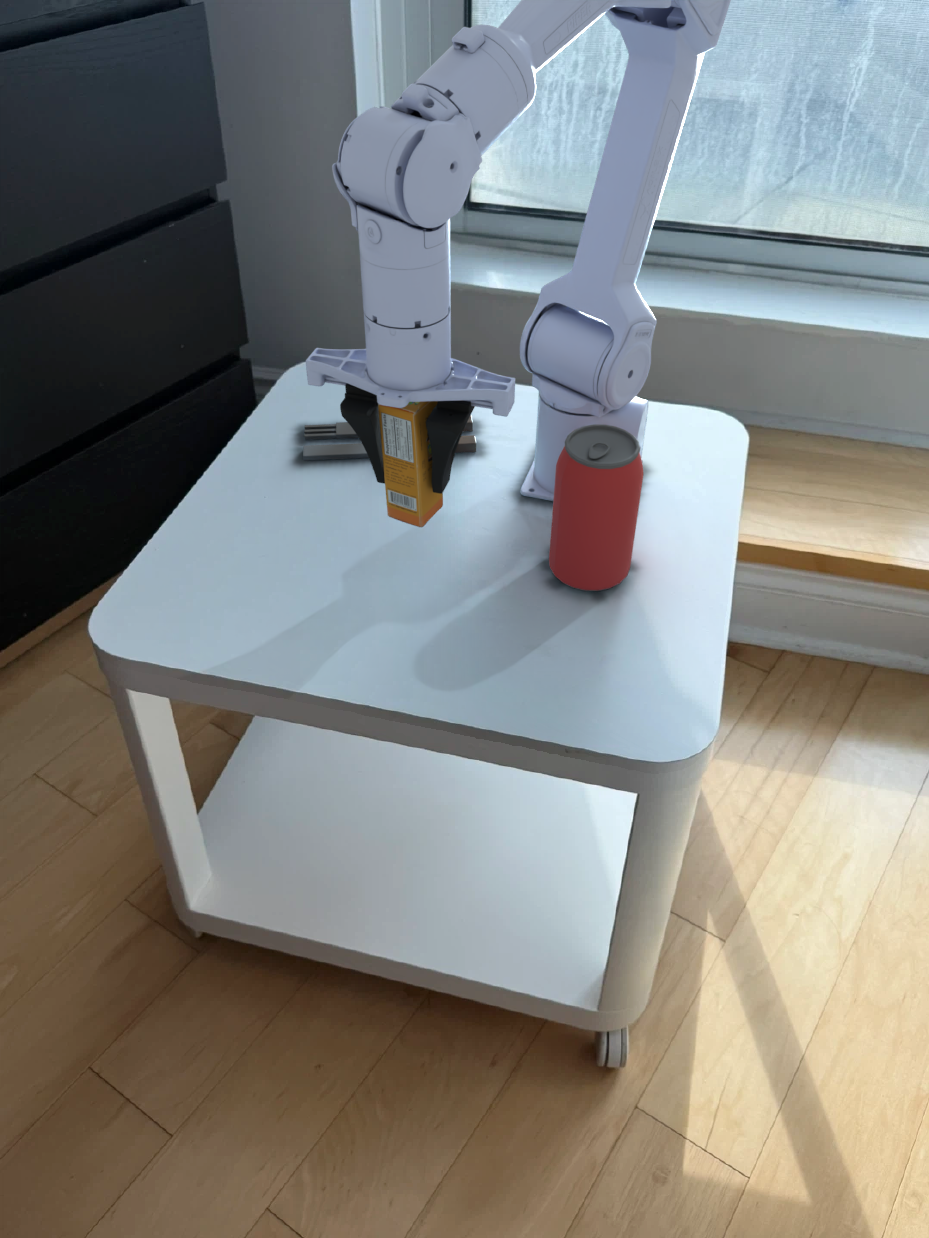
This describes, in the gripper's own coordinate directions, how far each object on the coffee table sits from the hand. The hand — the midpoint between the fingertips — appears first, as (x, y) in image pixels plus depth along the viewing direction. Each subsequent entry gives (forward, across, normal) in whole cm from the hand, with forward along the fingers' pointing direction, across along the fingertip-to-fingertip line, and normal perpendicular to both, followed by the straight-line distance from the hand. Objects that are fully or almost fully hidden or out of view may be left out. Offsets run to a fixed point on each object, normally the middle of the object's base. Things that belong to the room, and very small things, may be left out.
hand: (413, 480), depth 79 cm
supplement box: (+3, 0, 0) cm, 3 cm away
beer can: (+10, +13, +6) cm, 17 cm away
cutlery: (+10, -9, +19) cm, 23 cm away
